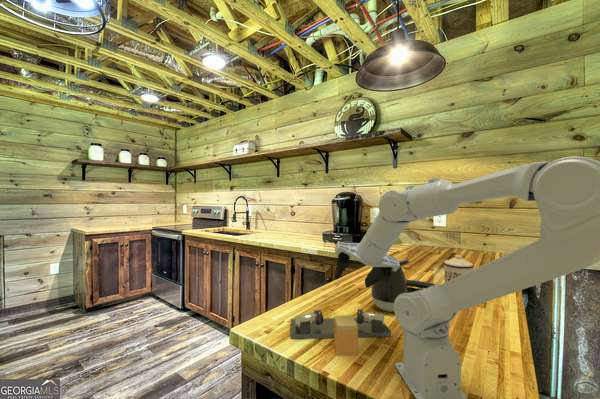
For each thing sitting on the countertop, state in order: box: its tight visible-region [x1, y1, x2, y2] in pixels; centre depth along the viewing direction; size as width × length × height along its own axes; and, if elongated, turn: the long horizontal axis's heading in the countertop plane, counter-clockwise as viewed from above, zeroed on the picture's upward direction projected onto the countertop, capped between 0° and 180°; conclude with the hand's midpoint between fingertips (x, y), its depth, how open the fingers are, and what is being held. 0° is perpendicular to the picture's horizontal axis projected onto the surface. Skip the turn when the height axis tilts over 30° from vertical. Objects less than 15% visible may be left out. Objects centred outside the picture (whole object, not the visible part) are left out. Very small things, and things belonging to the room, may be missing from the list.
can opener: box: [406, 279, 436, 293], centre depth 91 cm, size 18×7×6 cm, turn 43°
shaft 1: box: [294, 309, 324, 335], centre depth 65 cm, size 6×3×4 cm, turn 112°
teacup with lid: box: [443, 254, 474, 283], centre depth 96 cm, size 12×9×12 cm
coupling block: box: [333, 314, 359, 357], centre depth 59 cm, size 4×5×6 cm
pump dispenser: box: [370, 255, 410, 313], centre depth 80 cm, size 10×10×15 cm
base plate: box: [290, 317, 392, 340], centre depth 67 cm, size 8×23×1 cm, turn 92°
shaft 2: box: [356, 308, 385, 333], centre depth 65 cm, size 6×3×4 cm, turn 72°
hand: (351, 279), depth 65 cm, fingers open, 7 cm apart
